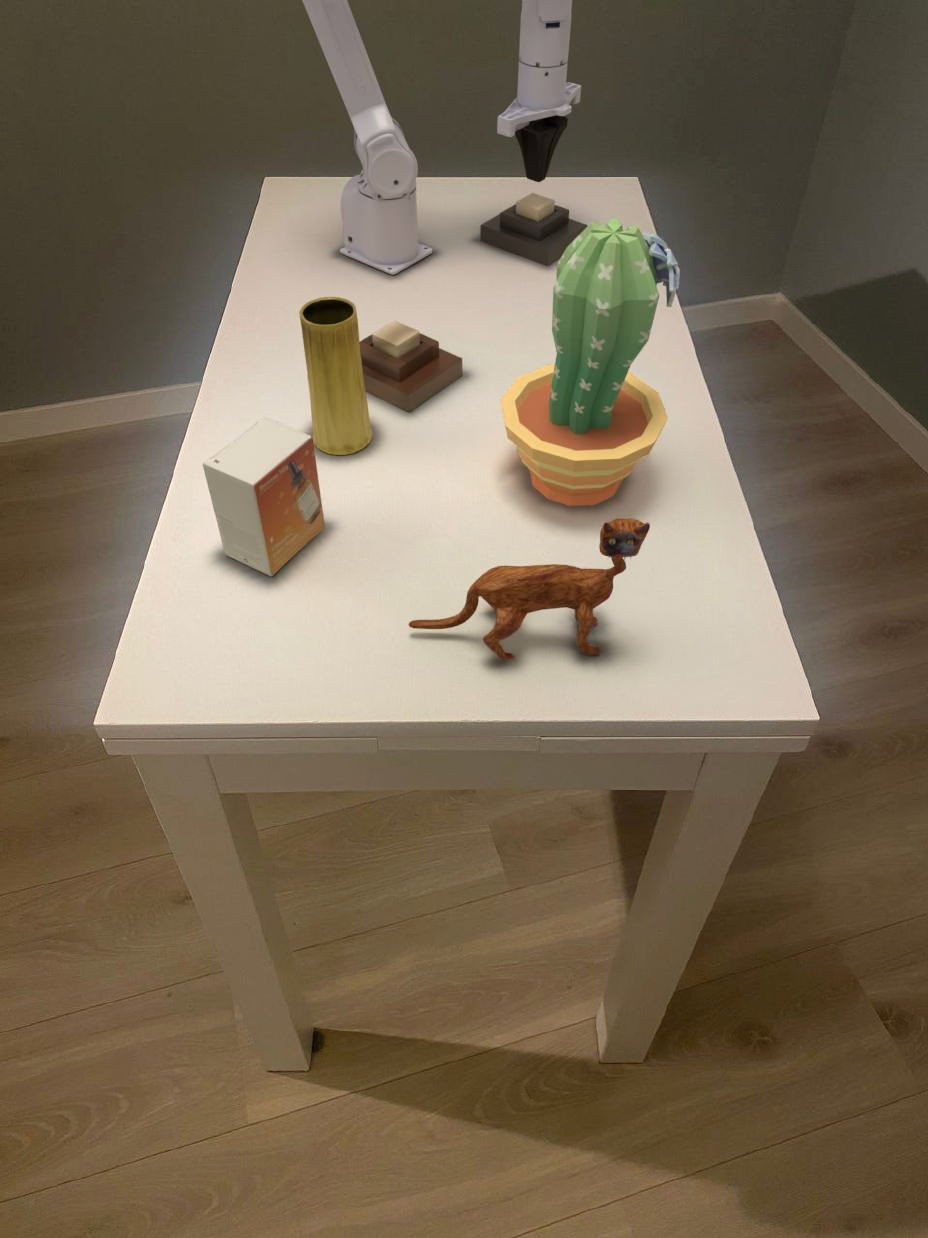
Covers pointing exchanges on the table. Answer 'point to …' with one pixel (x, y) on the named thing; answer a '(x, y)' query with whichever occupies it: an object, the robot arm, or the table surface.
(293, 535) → the small box
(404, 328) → the front key
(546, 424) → the potted cactus
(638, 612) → the table surface
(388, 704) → the table surface
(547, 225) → the block
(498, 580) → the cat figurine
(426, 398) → the front block
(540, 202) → the back key
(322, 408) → the vase
